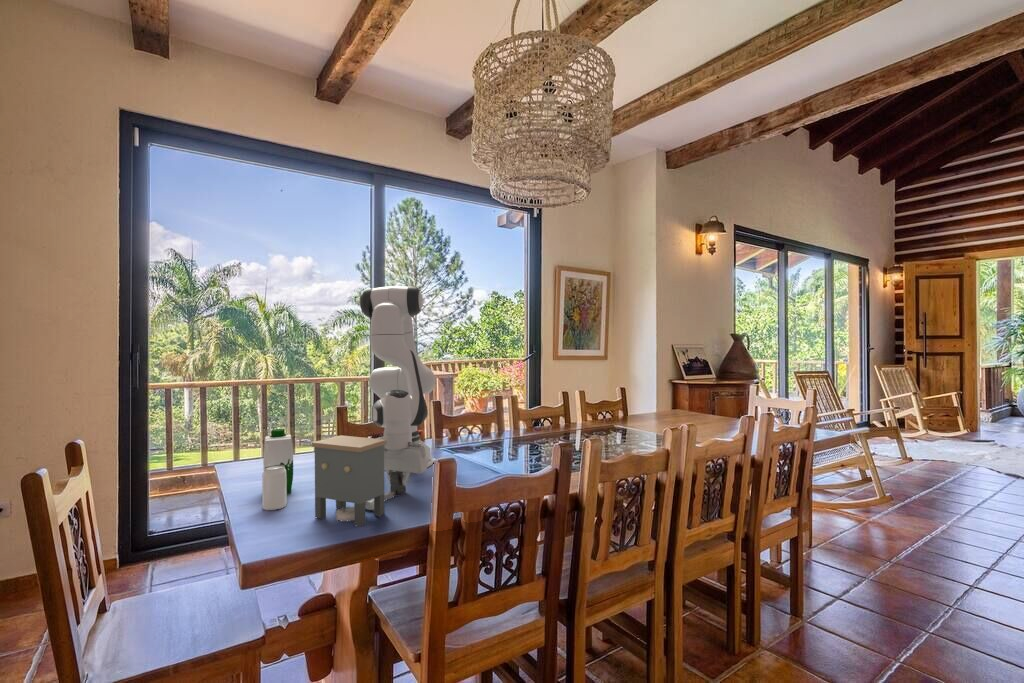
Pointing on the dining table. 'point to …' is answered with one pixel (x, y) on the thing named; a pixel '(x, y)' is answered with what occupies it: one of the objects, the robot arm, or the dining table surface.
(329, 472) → the cabinet
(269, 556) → the dining table surface
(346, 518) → the coaster
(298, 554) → the dining table surface
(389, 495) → the block
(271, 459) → the milk carton
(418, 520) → the dining table surface
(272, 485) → the can
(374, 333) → the robot arm
